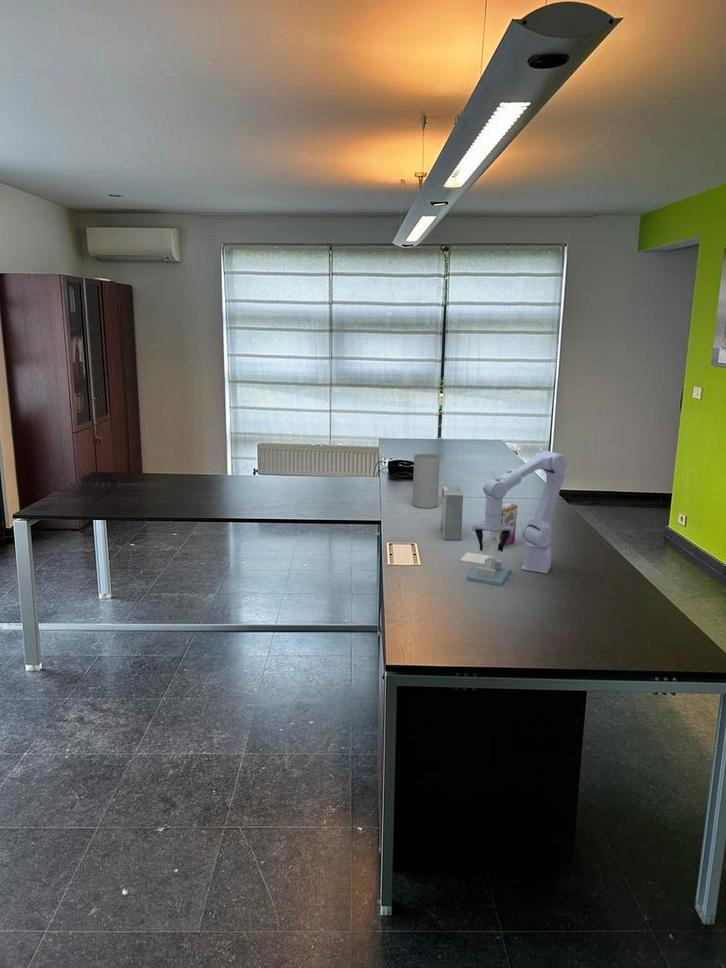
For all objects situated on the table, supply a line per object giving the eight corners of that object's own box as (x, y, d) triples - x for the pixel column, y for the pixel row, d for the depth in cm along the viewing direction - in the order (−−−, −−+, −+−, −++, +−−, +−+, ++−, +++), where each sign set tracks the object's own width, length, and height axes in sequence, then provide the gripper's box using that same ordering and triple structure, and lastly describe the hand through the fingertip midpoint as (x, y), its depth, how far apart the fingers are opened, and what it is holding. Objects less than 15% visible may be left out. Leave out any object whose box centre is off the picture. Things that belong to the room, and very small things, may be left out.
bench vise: (511, 571, 248) (512, 555, 247) (500, 585, 234) (502, 568, 233) (479, 565, 253) (479, 550, 252) (467, 580, 239) (468, 563, 237)
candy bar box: (500, 548, 273) (502, 509, 270) (489, 545, 277) (492, 507, 273) (515, 542, 281) (518, 504, 277) (505, 539, 285) (507, 502, 281)
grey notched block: (500, 551, 242) (500, 541, 241) (497, 554, 239) (498, 544, 238) (484, 549, 244) (485, 539, 244) (481, 552, 241) (482, 542, 240)
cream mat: (492, 557, 263) (492, 556, 263) (485, 565, 254) (485, 564, 254) (467, 553, 267) (467, 552, 267) (459, 560, 258) (459, 559, 258)
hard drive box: (440, 529, 298) (442, 485, 293) (457, 529, 297) (459, 485, 293) (443, 540, 282) (445, 494, 278) (461, 540, 282) (463, 494, 278)
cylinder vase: (431, 501, 344) (433, 453, 339) (441, 507, 333) (443, 458, 327) (408, 503, 340) (410, 454, 335) (418, 509, 329) (420, 459, 323)
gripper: (512, 511, 242) (510, 547, 245) (472, 510, 243) (470, 545, 246) (515, 517, 235) (512, 554, 238) (473, 515, 236) (471, 552, 239)
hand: (491, 550), depth 241 cm, fingers closed on grey notched block, 7 cm apart
